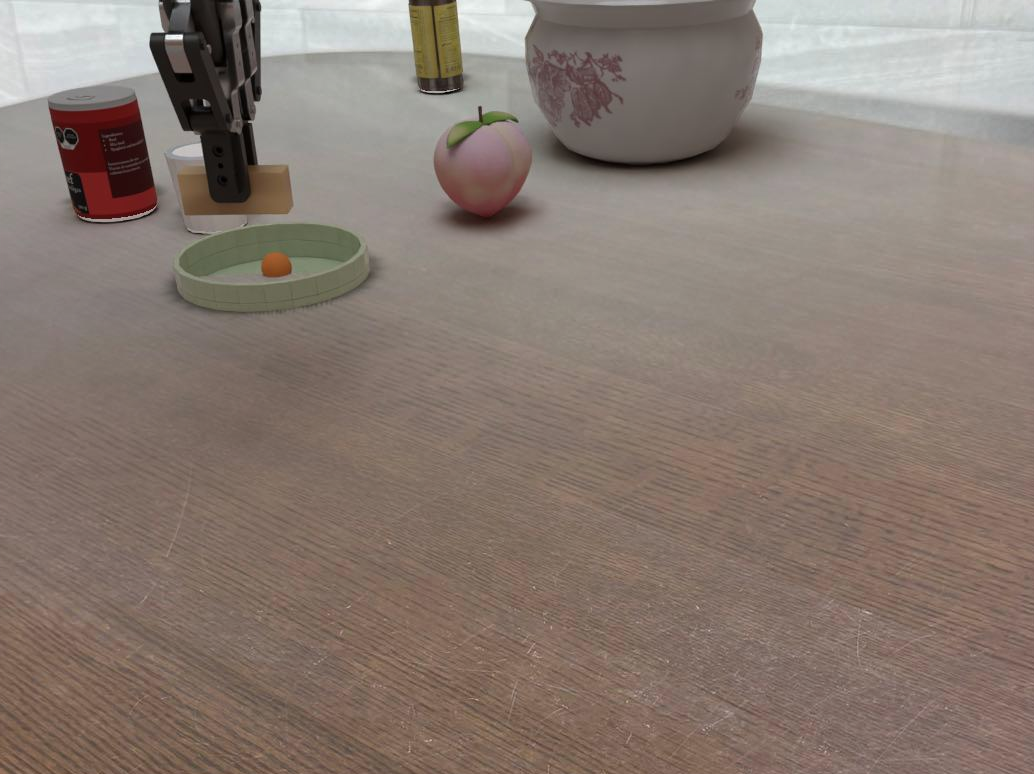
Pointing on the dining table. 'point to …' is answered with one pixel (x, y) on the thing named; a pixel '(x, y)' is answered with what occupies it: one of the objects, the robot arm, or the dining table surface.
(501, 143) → the decorative fruit
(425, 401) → the dining table surface
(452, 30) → the sauce bottle
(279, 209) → the block
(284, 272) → the ball
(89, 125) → the canned food
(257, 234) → the bowl
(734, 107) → the chamber pot
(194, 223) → the white cup
